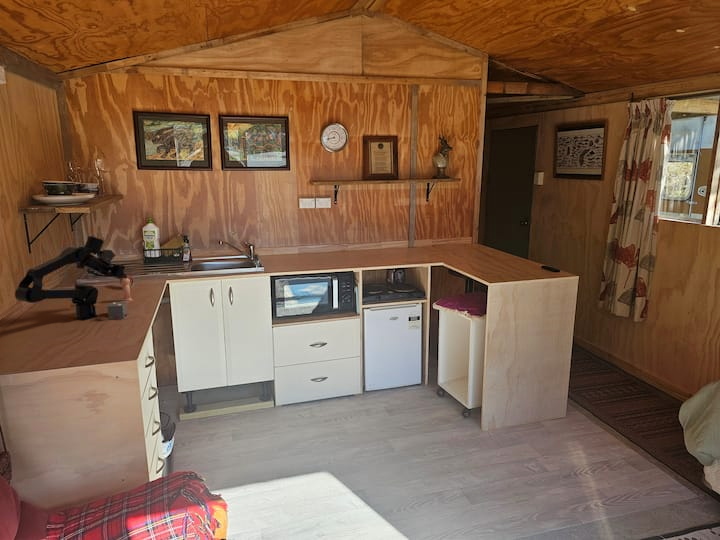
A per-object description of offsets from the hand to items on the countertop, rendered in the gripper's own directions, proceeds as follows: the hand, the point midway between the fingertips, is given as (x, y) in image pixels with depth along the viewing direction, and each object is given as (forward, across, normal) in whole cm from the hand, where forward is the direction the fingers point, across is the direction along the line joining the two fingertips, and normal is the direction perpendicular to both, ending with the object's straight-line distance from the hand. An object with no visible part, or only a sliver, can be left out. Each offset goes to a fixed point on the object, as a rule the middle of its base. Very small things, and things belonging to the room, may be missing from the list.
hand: (119, 276), depth 234 cm
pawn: (+11, +2, +8) cm, 14 cm away
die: (-3, -12, +19) cm, 23 cm away
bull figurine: (+30, +27, -3) cm, 40 cm away
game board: (+8, +1, +12) cm, 14 cm away
